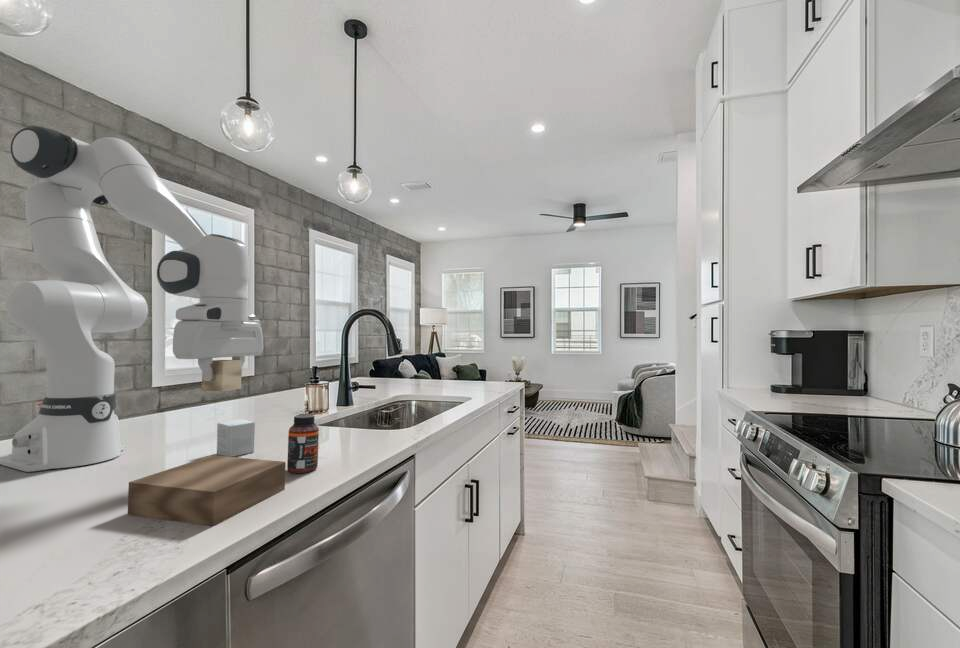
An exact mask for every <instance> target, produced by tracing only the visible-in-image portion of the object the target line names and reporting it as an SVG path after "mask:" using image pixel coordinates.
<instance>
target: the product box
mask: <svg viewBox="0 0 960 648" xmlns="http://www.w3.org/2000/svg"><path fill="white" fill-rule="evenodd" d="M255 424H256V422H255V421H250V420H247V419H243V418H241V419H239V418H238V419H234V420H229V421H221V422H218V423H217V424H216V425H217V426H216V433H217V434H216V454H217V455H219V456H227V457H238V456H242V455H247V454H253V453H255V427H256V426H255Z"/></svg>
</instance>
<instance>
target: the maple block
mask: <svg viewBox="0 0 960 648" xmlns="http://www.w3.org/2000/svg"><path fill="white" fill-rule="evenodd" d="M210 366H211V368H212V371H213V372H216V376H215V377H216V379H215V380H214V381H203V372H202V371H201V373H202V374H201V391H203V392H204V391H206V392H227V391H228V392H230V391H234V390H235V391H236V390H241V389H242V371H243V370H242V369H243V368H242V367H243V366H242V360H232V359H212V364H210Z"/></svg>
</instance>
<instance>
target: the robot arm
mask: <svg viewBox="0 0 960 648" xmlns="http://www.w3.org/2000/svg"><path fill="white" fill-rule="evenodd" d="M10 154H11V158H12V160H13V161H14V164H15V165H16V166H17V167H18V168H19V169H20V170H23V171H24V172H26V173H27V174H30V175H32V176H34V177H36V178H39V179H45V180H42V181H37V182H35V183H32V184H31V185H30V186H29V187H28V188H27V189H26V191H25V195H24V196H25V198H24V199H25V200H24V202H25V203H24V204H25V205H24V206H25V207H24V209H25V217H26V223H27V227H28V232H29V235H30V238H31V242H32V246H33V247H32V248H33V250H34V255H35V258H36V260H37V262H38V263H39V265H40V266H42V267H43V268H44V269H45V270H46V271H48V272H50V273H51V274H53V275H55V276H57V277H58V278H59V279H60V280H58V279H46V280H45V279H44V280H43V279H41V280H39V279H38V280H28V281H22V282H19V283H18V284H17V285H15V286H14V287H13V288H12V289H11V290H10V292H9V293H8V295H7V297H6V300H5V311H6V315H7V316H8V318H9V319H10V320H11V322H12V323H13V324H15V326H17V327H19V328H20V329H22V330H23V331H25V332H27V334H29V335H30V336H31V337H32V338H33V339H34V341H36V343H37V344H38V346H39V348H40V350H41V352H42V353H43V357H44V359H45V369H46V396H45V397H44V398H43V399H38V400H37V402H40V403H37V406H40V408H39V410H38V414H39V415H37V416H36V417H35V418H34V419H33V420H31V422H29V423H27V424H26V425H25V426H23V427H22V428H21V429H20V430H18V431H17V432H16V433H15V434H14V436H13V438H12V440H11V444H12V445H11V446H12V447H11V448H12V449H11V453H8V454H5V455H2V456H0V465H2V466H5V467H8V468H12V469H15V470H18V471H23V472H25V473H27V472H28V473H29V472H30V473H31V472H39V471H45V470H52V469H62V468H63V469H65V468H73V467H80V466H86V465H92V464H97V463H102V462H105V461H109V460H111V459H112V460H113V459H115V458H117V457H119V456H121V454H122V451H124V450H125V445H124V444H121V435H120V424H119V417H118V415H117V414H115V409H116V408H117V402H118V401H117V400H118V399H117V393H115V372H116V370H115V367H116V363H115V360H114V359H113V356H111V355H110V354H109V353H106V352H105V351H103V350H101V349H99V348H98V347H97V345H96V344H95V343H94V339H93V337H92V333H103V334H104V333H105V334H106V333H111V334H113V333H114V334H116V333H121V332H127V331H132V330H136V329H138V328H140V327H141V326H142V325H143V324H144V323H145V321H146V319H147V318H148V314H149V306H148V303H147V300H146V299H145V297H144V296H143V295H142V294H141V293H139V292H138V291H136V290H134V289H133V288H131V287H130V286H128V284H126V283H125V281H124V280H122V278H120V276H119V275H118V274H117V273H116V272H115V270H114V269H113V268H112V267H111V265H110V264H109V262H108V260H107V259H106V257H105V255H104V252H103V249H102V247H101V243H100V241H99V237H98V234H97V231H96V228H95V224H94V220H93V217H92V215H91V204H92V203H94V204H96V205H100V206H104V205H107V204H109V205H110V206H111V207H112V208H114V210H115V211H116V212H118V213H119V214H120V215H121V216H123V217H124V218H125V219H127V220H129V221H131V222H134V223H136V224H138V225H142V226H144V227H147V228H149V229H152V230H154V231H157V232H159V233H161V234H162V235H164V236H166V237H168V238H170V239H172V240H173V241H174V242H175V243H177V244H178V246H180V247H181V248H182V249H179V250H172V251H169V252H167V253H166V254H165V255H164V256H162V257H161V259H160V260H159V262H158V263H157V267H156V279H157V281H158V285H160V288H162V290H163V291H164V292H166V293H168V294H170V295H174V296H177V297H183V298H184V297H185V298H186V297H187V298H192V299H199V302H197V303H194V304H191V305H186V306H184V307H181V308H180V307H179V308H177V309H176V310H175V318H176V320H178V322H176V323H175V326H174V329H173V335H172V353H173V355H174V357H175V358H176V359H178V360H197V365H198V367H199V369H200V370H201V373H202V372H203V381H214V380H215V379H216V377H215V376H216V372H213V371H212V368H211V366H210V364H212V360H214V359H216V358H217V359H218V358H219V359H220V358H231V360H242V367H243V366H244V363H245V361H246V357H250V356H252V357H254V356H261V354H262V353H263V352H264V334H263V329H262V326H261V320H260V319H259V318H258V317H257V315H255V314H249V295H248V290H247V289H248V284H249V281H250V257H249V250H248V247H247V245H246V243H244V242H243V241H242V240H240V239H236V238H234V237H229V236H226V235H221V234H216V233H211V234H208V233H207V232H206V231H205V229H204V228H203V227H202V226H201V225H200V224H199V222H198V221H197V220H196V219H195V218H194V217H193V215H191V213H190V212H189V211H188V210H187V209H185V207H184V206H183V205H182V203H180V202H179V201H178V200H177V199H176V198H175V196H174V195H173V194H172V193H171V191H170V190H169V189H168V188H167V187H166V185H165V184H164V182H163V181H162V180H161V178H160V177H159V176H158V174H157V173H156V171H155V170H154V168H153V166H151V164H150V163H149V162H148V160H147V159H146V158H145V157H144V156H143V155H142V154H141V153H140V151H138V149H136V148H135V147H134V146H133V145H131V144H130V143H129V141H128V142H127V141H126V140H124V139H121V138H117V137H112V136H111V137H109V136H108V137H106V136H105V137H101V138H98V139H96V140H94V141H92V142H91V143H89V142H87V141H83V140H80V139H78V138H75V137H72V136H70V135H68V134H64V133H62V132H60V131H59V130H56V129H52V128H50V127H49V128H48V127H44V126H39V125H30V126H25V127H23V128H21V129H19V130H18V131H17V132H16V133H15V134H14V135H13V138H12V140H11V143H10Z"/></svg>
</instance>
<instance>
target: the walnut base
mask: <svg viewBox="0 0 960 648" xmlns="http://www.w3.org/2000/svg"><path fill="white" fill-rule="evenodd" d="M285 488H286V461H281V460H280V461H279V460H278V461H277V460H271V459H270V460H269V459H260V458H258V459H257V458H246V457H238V456H234V457H227V456H223V455H215V454H213V455H209V456H206V457H203V458H199V459H196V460H194V461H191V462H188V463H184V464H182V465H178V466H175V467H172V468H169V469H165V470H162V471H159V472H157V473H153V474H149V475H147V476H144V477H141V478H138V479H134V480H131V481H128V492H127V493H128V494H127V497H128V498H127V515H128V516H129V515H130V516H137V517H144V518H150V519H158V520H165V521H173V522H180V523H189V524H193V525H194V524H196V525H203V526H209V527H215V526H216V525H219V524H220V523H222V522H224V521H226V520H228V519H231V518H232V517H234V516H236V515H238V514H240V513H241V512H243V511H245V510H247V509H249V508H251V507H253V506H255V505H257V504H260V503H261V502H262V501H266V500H267V499H269V498H271V497H273V496H274V495H277V494H279V493H280V492H282V491H284V490H285Z"/></svg>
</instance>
